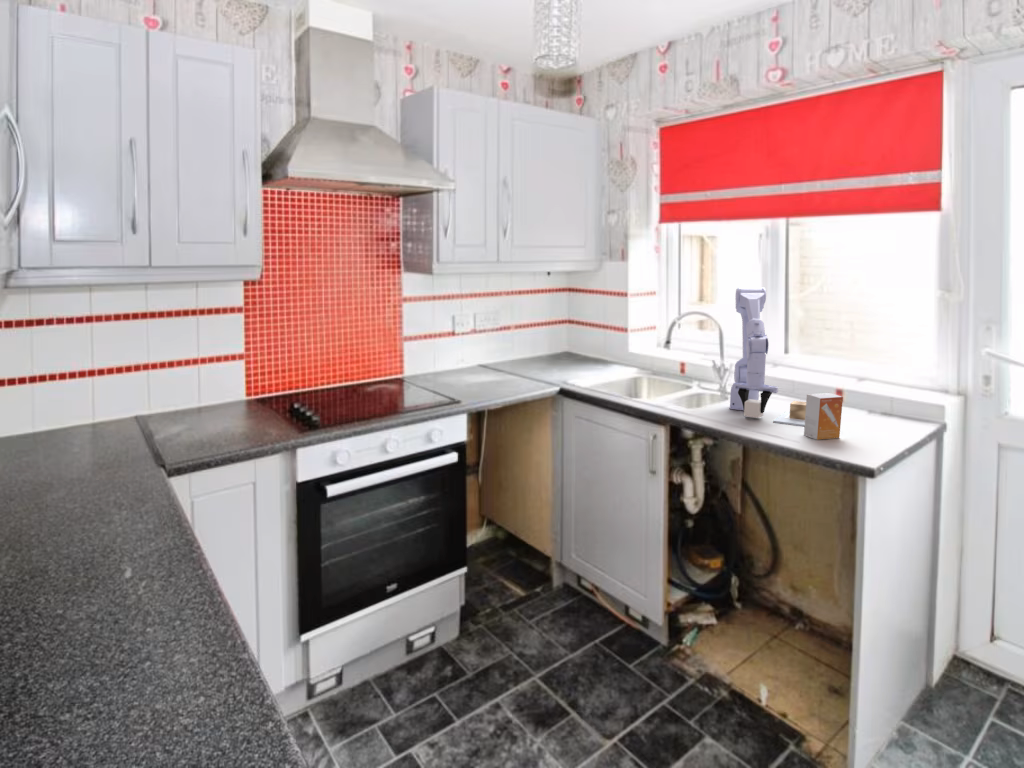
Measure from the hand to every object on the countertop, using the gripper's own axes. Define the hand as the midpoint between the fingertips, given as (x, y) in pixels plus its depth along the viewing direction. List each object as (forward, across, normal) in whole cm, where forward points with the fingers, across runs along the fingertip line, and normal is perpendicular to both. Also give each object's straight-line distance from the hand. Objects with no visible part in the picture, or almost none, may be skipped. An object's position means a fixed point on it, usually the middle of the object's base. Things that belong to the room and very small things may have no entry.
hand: (753, 411), depth 224 cm
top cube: (+1, 0, 0) cm, 1 cm away
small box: (+3, +24, -12) cm, 27 cm away
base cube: (+2, +13, +7) cm, 15 cm away
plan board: (+2, +13, +5) cm, 14 cm away
